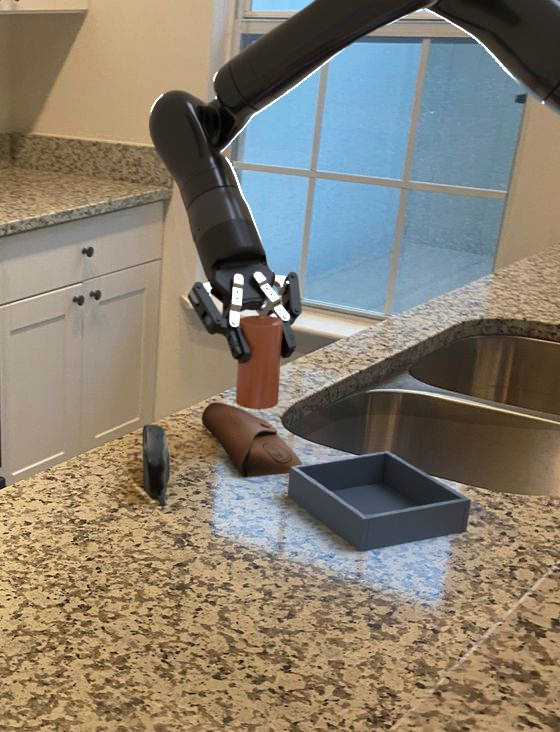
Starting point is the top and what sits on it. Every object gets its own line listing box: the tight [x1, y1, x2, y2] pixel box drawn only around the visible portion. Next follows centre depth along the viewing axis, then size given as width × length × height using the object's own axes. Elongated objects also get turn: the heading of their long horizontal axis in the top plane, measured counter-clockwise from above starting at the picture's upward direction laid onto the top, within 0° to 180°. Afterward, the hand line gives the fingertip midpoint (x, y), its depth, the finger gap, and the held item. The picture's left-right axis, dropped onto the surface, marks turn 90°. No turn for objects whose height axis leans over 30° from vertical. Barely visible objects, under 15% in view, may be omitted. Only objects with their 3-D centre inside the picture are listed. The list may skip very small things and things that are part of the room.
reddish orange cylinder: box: [235, 314, 283, 410], centre depth 121 cm, size 5×5×10 cm
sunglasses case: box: [201, 401, 304, 479], centre depth 125 cm, size 18×7×7 cm
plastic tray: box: [287, 450, 472, 553], centre depth 107 cm, size 12×14×4 cm
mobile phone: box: [142, 423, 171, 507], centre depth 117 cm, size 5×3×15 cm
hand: (267, 356), depth 119 cm, fingers closed on reddish orange cylinder, 5 cm apart
